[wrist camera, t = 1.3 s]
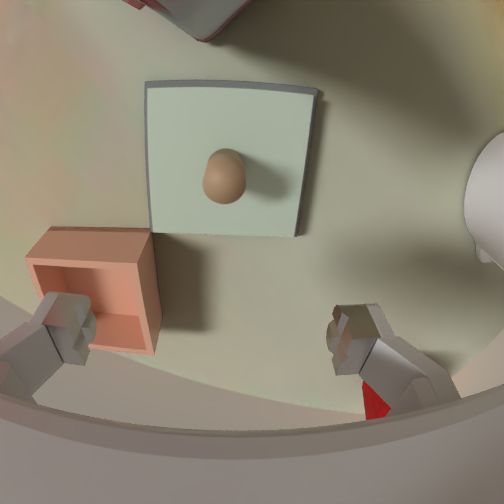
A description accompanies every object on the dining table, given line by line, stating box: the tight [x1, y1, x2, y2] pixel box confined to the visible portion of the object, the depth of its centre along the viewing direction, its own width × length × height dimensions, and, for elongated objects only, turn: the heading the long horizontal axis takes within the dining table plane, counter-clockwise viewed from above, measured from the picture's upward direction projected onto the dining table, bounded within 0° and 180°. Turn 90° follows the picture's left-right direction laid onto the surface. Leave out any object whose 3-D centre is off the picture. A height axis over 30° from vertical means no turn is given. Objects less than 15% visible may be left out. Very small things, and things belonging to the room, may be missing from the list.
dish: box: [25, 227, 163, 355], centre depth 28 cm, size 11×11×6 cm
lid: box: [147, 86, 314, 238], centre depth 22 cm, size 12×12×5 cm
